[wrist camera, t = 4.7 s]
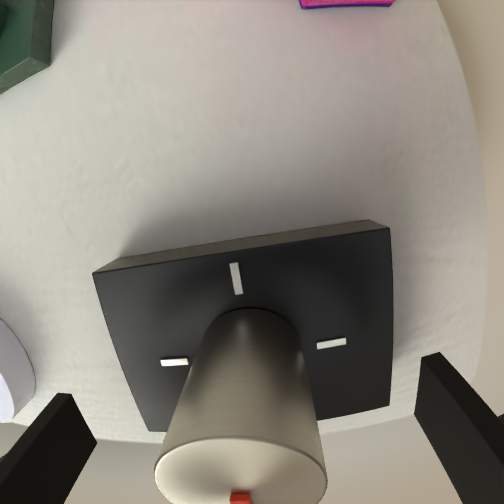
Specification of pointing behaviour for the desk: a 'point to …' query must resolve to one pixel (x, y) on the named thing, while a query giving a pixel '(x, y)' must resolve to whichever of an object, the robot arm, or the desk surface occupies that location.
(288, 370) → the hob knob
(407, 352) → the desk surface
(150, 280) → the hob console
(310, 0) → the supplement box
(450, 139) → the desk surface
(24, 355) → the wedge on round base
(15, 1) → the green button base
